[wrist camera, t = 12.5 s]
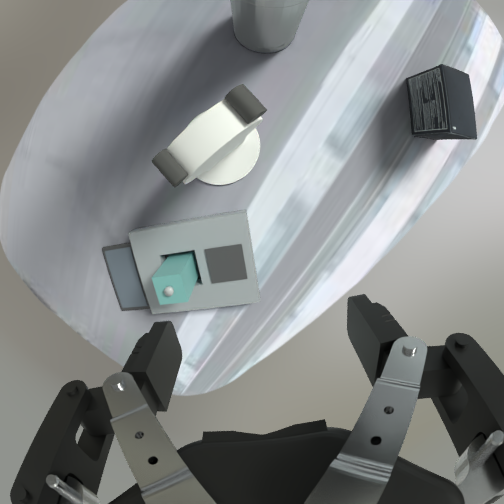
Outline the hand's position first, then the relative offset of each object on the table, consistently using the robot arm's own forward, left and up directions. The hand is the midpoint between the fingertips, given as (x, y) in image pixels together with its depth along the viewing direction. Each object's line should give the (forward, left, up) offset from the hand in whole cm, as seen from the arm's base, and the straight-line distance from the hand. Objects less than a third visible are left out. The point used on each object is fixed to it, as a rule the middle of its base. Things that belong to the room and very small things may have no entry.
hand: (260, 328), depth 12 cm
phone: (+8, -23, -31) cm, 39 cm away
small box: (-14, +31, -30) cm, 46 cm away
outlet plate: (+7, -10, -30) cm, 32 cm away
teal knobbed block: (+7, -12, -30) cm, 33 cm away
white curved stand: (-10, -3, -30) cm, 32 cm away
